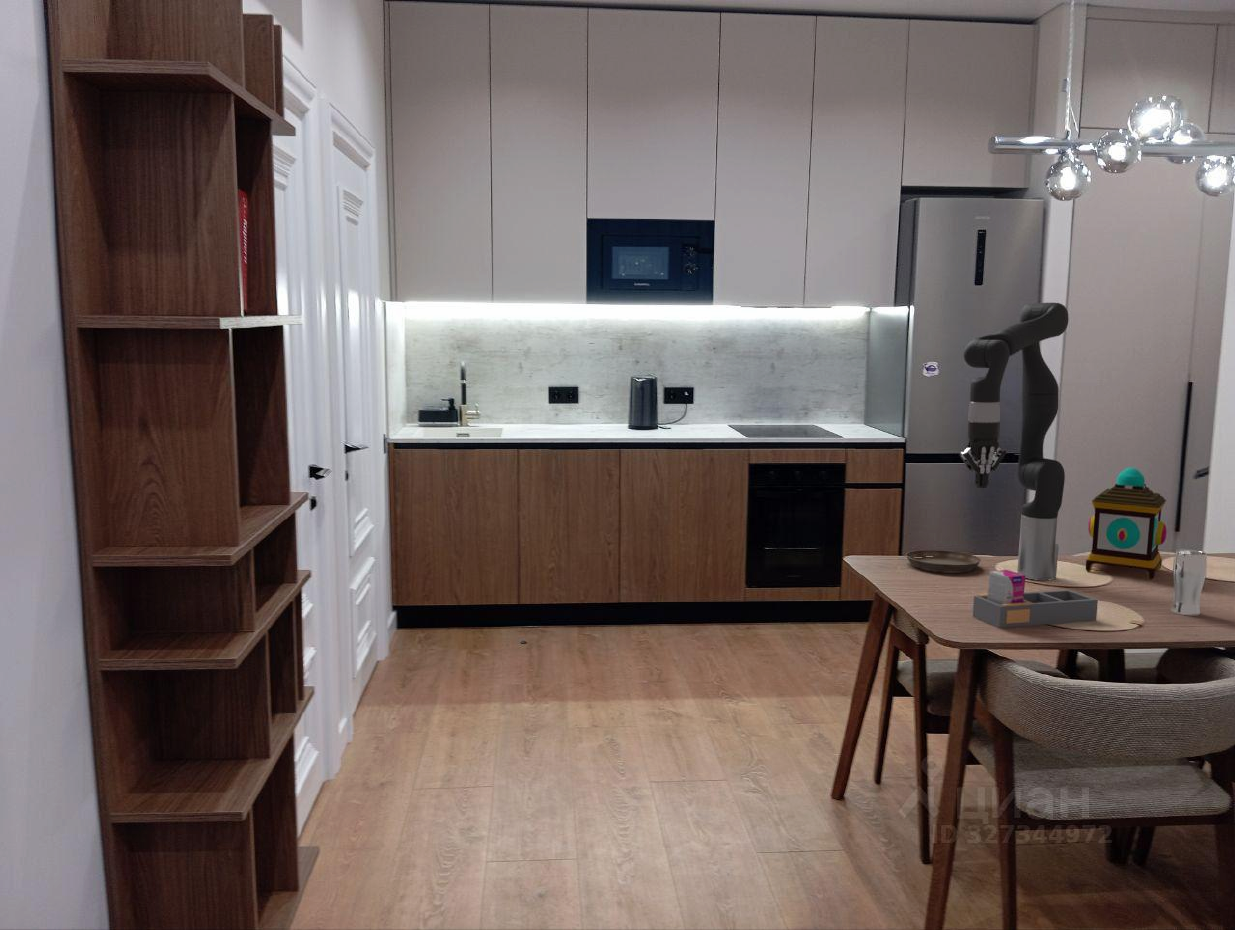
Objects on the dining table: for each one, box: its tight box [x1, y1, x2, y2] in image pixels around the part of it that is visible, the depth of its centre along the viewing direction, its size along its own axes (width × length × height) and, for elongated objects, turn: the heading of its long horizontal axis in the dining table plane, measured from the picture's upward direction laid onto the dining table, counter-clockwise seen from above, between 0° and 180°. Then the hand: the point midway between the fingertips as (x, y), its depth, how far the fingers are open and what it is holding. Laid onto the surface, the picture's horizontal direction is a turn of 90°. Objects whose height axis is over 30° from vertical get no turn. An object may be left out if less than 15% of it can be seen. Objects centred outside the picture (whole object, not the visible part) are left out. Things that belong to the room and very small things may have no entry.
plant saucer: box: [905, 549, 982, 574], centre depth 283 cm, size 21×21×3 cm
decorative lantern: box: [1085, 467, 1168, 581], centre depth 280 cm, size 20×20×30 cm
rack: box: [972, 589, 1099, 629], centre depth 230 cm, size 27×10×5 cm, turn 106°
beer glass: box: [1171, 548, 1208, 617], centre depth 237 cm, size 7×7×15 cm
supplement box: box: [987, 569, 1026, 605], centre depth 228 cm, size 6×6×12 cm
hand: (981, 487), depth 248 cm, fingers closed
